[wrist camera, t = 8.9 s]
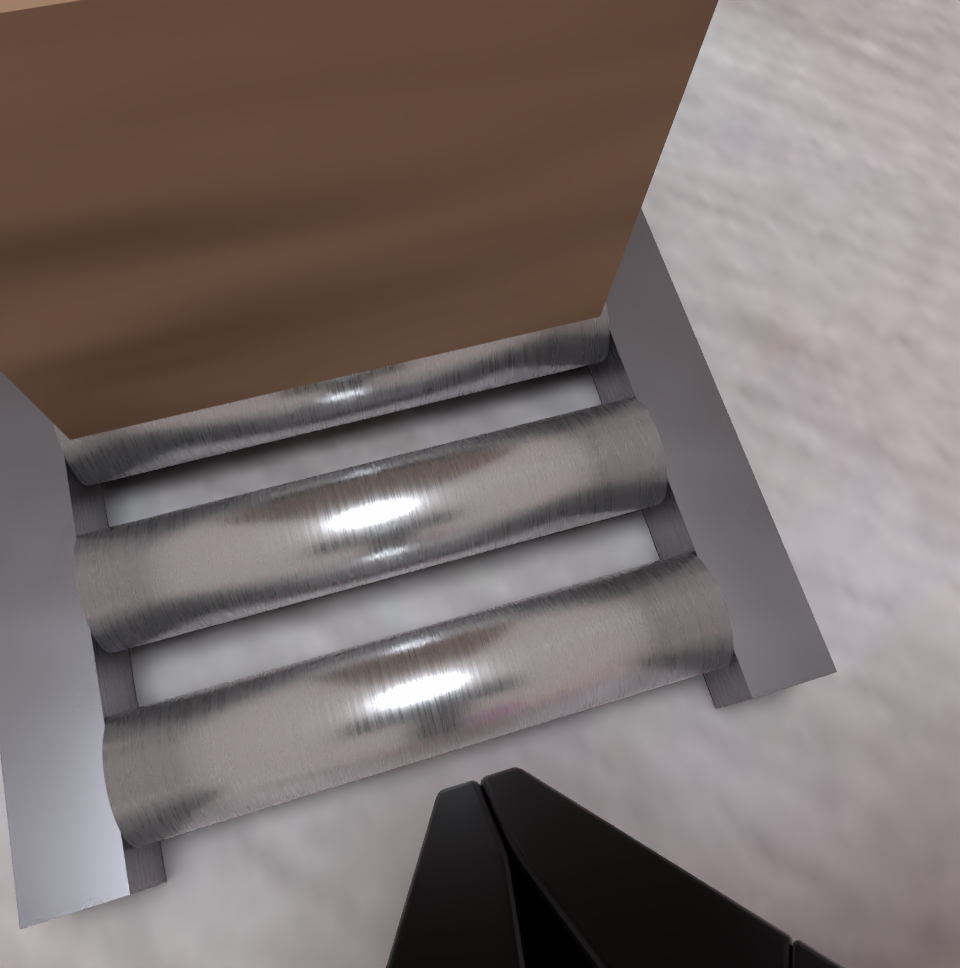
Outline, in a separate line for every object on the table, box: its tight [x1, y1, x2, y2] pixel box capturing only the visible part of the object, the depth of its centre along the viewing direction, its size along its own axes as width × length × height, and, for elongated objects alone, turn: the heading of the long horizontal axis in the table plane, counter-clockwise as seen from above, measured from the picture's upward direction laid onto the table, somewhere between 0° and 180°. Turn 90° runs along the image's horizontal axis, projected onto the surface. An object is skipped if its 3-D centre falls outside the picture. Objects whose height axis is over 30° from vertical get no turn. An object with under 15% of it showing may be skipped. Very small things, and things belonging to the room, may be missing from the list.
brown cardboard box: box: [0, 0, 718, 440], centre depth 12 cm, size 8×9×8 cm
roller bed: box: [0, 209, 837, 929], centre depth 14 cm, size 18×13×6 cm
